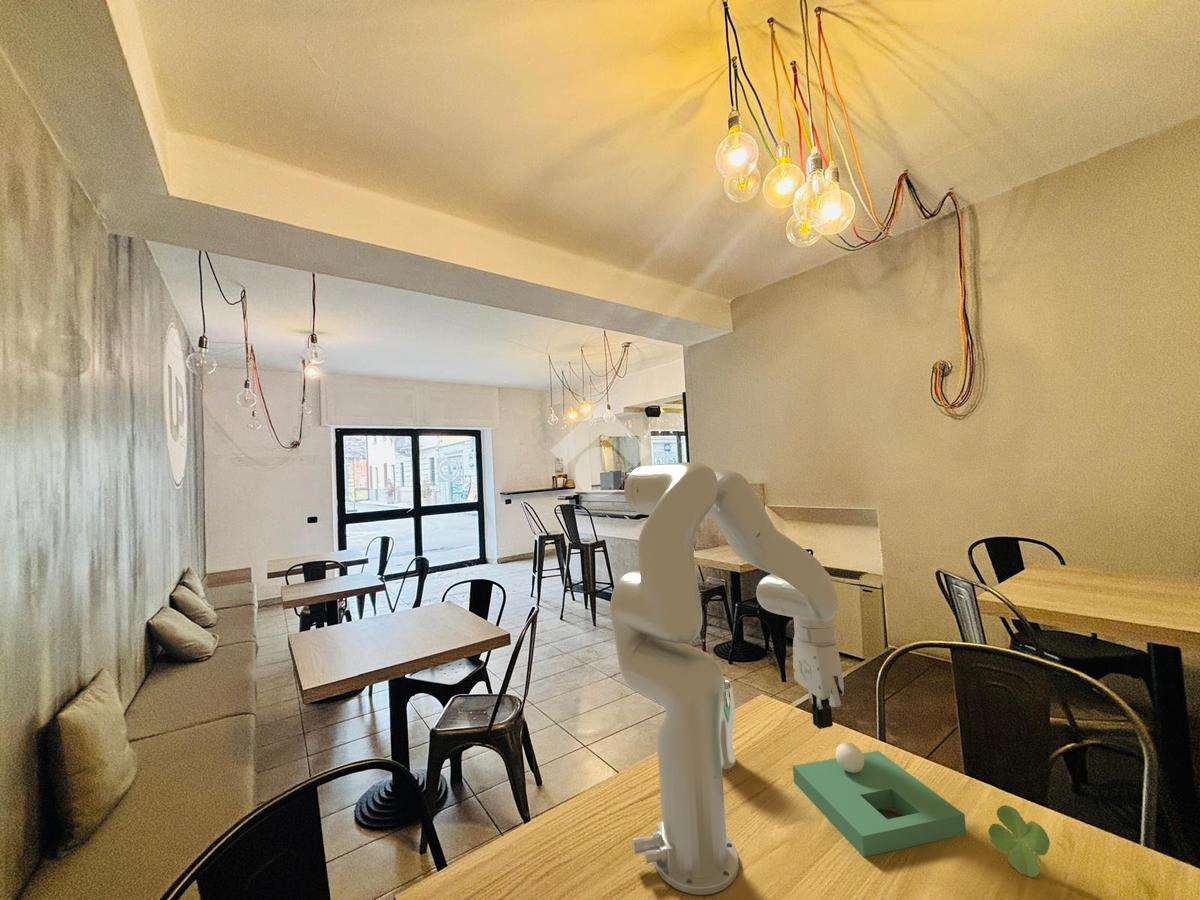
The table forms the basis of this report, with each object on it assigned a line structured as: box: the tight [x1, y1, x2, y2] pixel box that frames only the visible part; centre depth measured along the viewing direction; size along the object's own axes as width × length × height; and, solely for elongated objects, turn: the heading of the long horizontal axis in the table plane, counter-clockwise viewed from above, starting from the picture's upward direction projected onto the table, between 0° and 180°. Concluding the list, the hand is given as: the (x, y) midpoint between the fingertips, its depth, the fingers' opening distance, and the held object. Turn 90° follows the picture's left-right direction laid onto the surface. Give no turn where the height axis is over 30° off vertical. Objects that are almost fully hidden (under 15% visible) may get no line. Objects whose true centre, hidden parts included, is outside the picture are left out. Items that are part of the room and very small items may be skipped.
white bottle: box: [720, 678, 736, 770], centre depth 98 cm, size 7×7×15 cm
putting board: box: [792, 750, 967, 858], centre depth 83 cm, size 18×18×3 cm
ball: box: [835, 742, 864, 773], centre depth 88 cm, size 5×5×5 cm
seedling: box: [988, 804, 1051, 878], centre depth 71 cm, size 7×8×6 cm
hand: (823, 725), depth 96 cm, fingers closed
